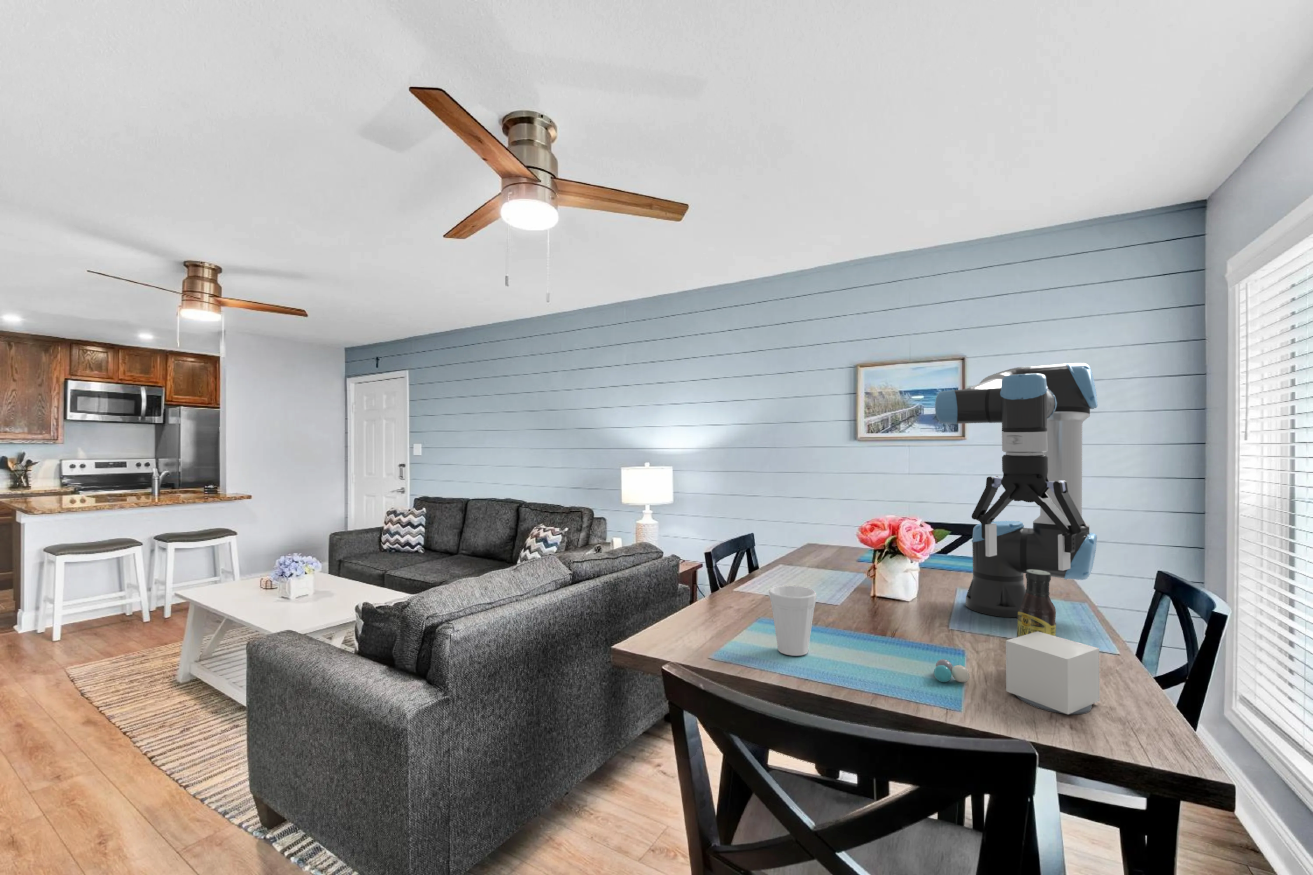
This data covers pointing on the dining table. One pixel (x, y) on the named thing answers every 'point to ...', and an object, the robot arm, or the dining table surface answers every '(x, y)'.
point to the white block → (1053, 671)
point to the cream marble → (960, 673)
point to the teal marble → (942, 673)
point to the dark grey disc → (1081, 711)
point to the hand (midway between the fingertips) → (1025, 562)
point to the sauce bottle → (1037, 606)
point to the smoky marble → (945, 664)
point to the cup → (792, 617)
